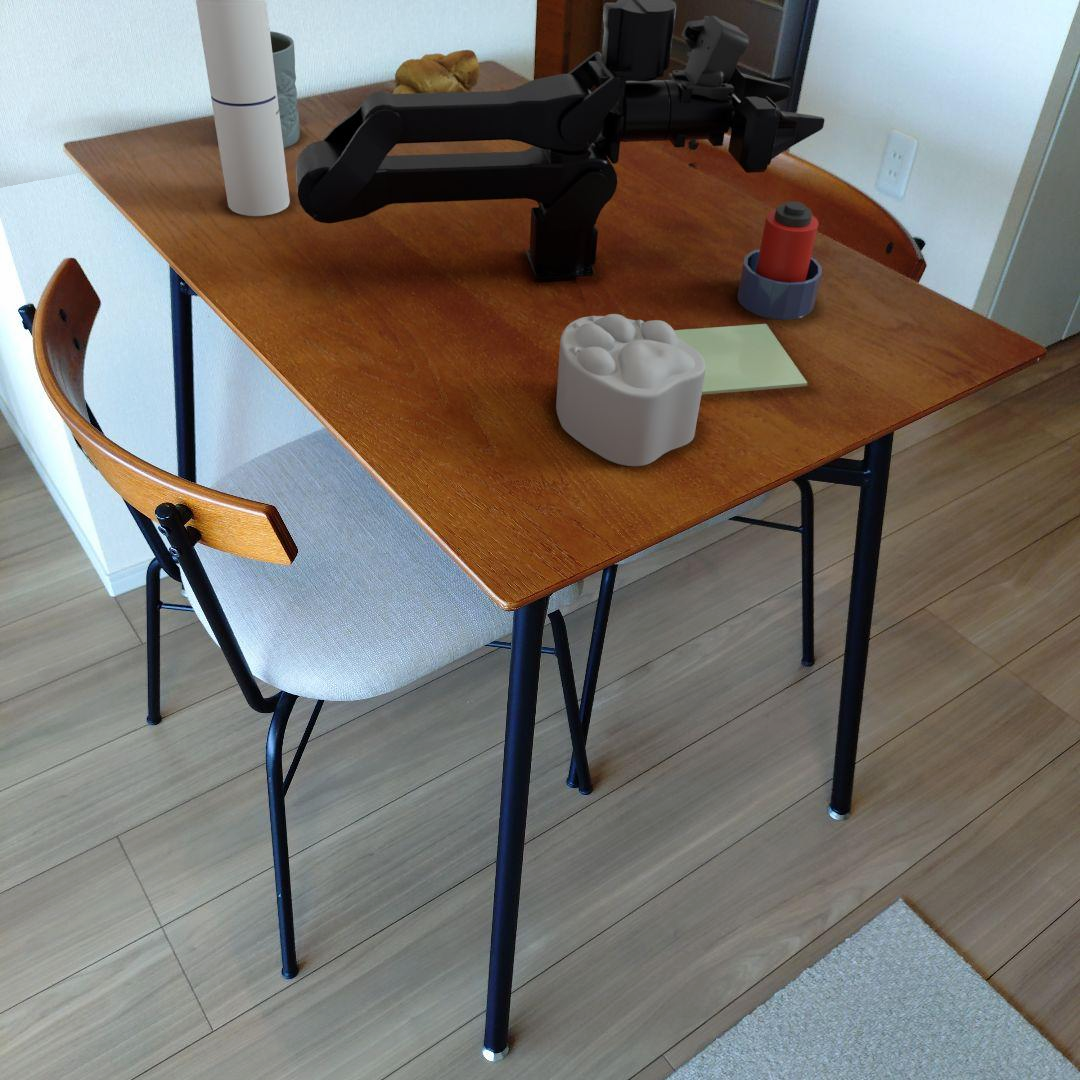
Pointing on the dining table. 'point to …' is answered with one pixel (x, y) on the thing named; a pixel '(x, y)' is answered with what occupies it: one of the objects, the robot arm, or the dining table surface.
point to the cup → (777, 291)
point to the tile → (742, 359)
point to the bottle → (787, 243)
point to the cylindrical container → (245, 104)
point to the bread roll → (438, 73)
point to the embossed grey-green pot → (286, 86)
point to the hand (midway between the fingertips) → (805, 107)
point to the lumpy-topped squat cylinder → (628, 387)
